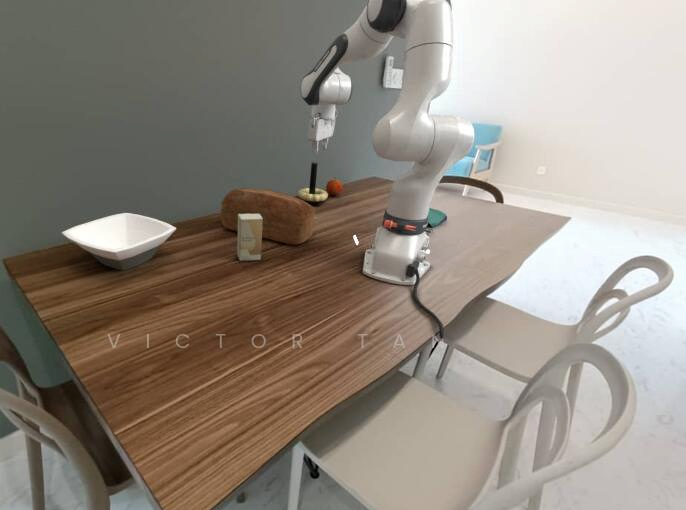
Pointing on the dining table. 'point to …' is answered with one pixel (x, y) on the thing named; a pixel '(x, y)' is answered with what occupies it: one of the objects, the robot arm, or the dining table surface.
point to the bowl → (121, 239)
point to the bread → (270, 214)
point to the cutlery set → (435, 218)
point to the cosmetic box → (249, 236)
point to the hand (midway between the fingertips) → (319, 151)
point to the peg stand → (313, 184)
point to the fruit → (334, 187)
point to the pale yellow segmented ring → (312, 195)
